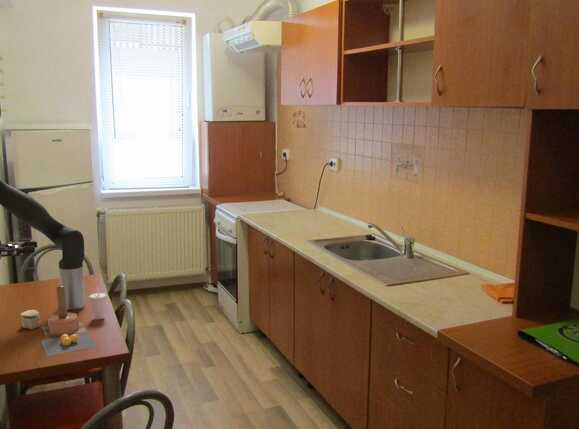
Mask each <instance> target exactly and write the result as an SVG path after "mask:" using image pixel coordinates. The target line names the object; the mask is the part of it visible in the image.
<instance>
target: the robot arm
mask: <svg viewBox="0 0 579 429" xmlns="http://www.w3.org/2000/svg"><path fill="white" fill-rule="evenodd" d="M0 205H1V206H2V208H4V209H6V210H7V211H8V212H9V213H11V214H12V215H13V216H15V218H17V219H18V220H20V221H21V222H23V223H24V224H26V225H27V226H30V227H31V228H33V229H35V230H36V231H37V232H40V233H41V234H42V235H44V236H45V237H46V238H48V239H49V241H50V242H52V243H53V244H54V245H55V246H57V248H59V249H61V251H62V252H61V253H62V255H61V257H62V258H61V259H59V261H58V272H59V273H58V274H59V285H65V289H66V304H67V311H74V310H75V311H76V310H78V309H79V310H81V309H82V308H85V306H86V296H85V295H86V294H85V278H84V277H85V276H84V264H83V263H84V260H85V239H84V234H82V232H81V231H79V230H77V229H74V228H72V227H69V226H66V225H65V224H62V223H61V222H59V221H58V220H56V219H55V218H54V217H53V216H51V214H50V213H49V211H48V210H47V209H46V208H45V207H44V205H42V204H41V203H40V202H38V201H37V200H36V199H35V198H33V197H32V196H30V195H29V194H27V193H25V192H24V191H21V190H20V189H17V188H15V187H14V186H11V185H9V184H7V182H4V181H3V180H2V179H0ZM37 247H38V242H37V241H26V240H23V239H22V240H8V241H6V242H5V243H3V244H2V241H1V239H0V260H2V257H3V258H4V257H20V256H21V255H22V256H23V255H25V254H34V253H35V252H36V248H37Z"/></svg>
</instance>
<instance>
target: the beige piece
mask: <svg viewBox="0 0 579 429" xmlns="http://www.w3.org/2000/svg"><path fill="white" fill-rule="evenodd" d="M39 314H41V313H40V312H39V311H38V310H35V309H30V310H29V309H27V310H26V311H24V312H21V313H20V316H21V317H20V319H22V321H21V324H22V328H24V329H30V330H33V329H37V328H39V327H40V328H41V325H40V323H42V322H41V321H40V318H41V316H40V315H39Z"/></svg>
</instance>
